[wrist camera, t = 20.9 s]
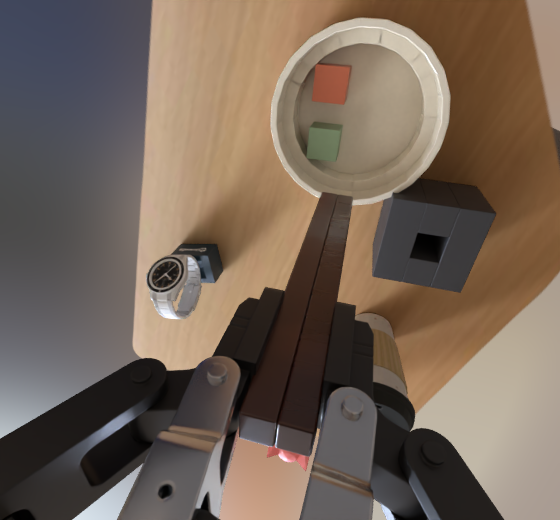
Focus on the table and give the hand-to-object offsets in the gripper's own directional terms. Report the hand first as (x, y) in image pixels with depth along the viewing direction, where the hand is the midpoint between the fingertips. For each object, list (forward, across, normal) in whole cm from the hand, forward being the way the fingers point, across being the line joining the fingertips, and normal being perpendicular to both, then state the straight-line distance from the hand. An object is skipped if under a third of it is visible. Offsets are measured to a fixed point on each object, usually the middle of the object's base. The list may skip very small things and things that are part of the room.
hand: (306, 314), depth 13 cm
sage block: (+28, +3, 0) cm, 28 cm away
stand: (+28, -9, +7) cm, 30 cm away
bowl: (+28, 0, -3) cm, 28 cm away
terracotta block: (+28, +3, -5) cm, 28 cm away
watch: (+28, +18, +18) cm, 38 cm away
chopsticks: (+11, 0, 0) cm, 11 cm away
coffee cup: (+28, -7, +25) cm, 39 cm away
